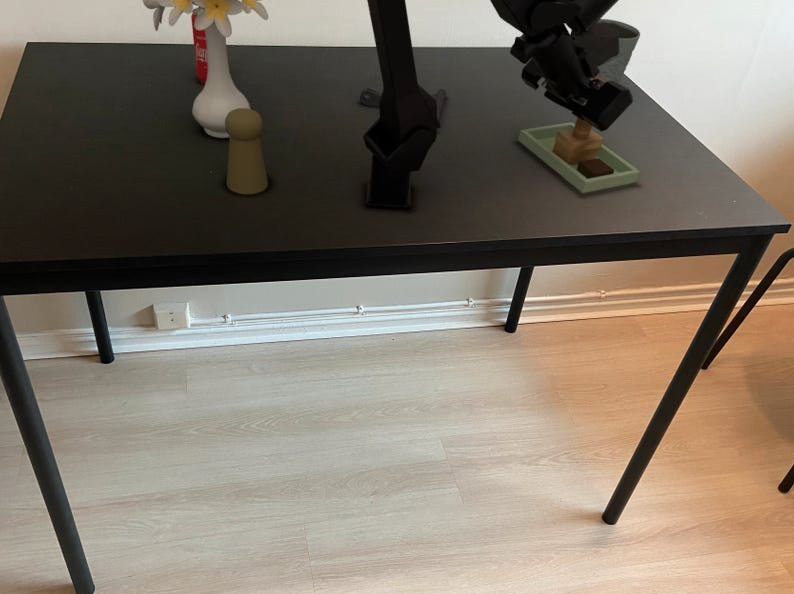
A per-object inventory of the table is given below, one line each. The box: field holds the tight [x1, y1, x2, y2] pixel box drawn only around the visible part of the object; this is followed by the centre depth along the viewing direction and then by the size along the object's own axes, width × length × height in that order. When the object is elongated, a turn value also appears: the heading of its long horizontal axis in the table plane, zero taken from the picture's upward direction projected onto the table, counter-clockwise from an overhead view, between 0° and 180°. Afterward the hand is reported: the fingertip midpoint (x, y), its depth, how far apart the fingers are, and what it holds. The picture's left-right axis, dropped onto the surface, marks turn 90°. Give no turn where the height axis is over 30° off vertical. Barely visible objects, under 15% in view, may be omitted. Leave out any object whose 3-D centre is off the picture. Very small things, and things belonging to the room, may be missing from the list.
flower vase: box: [142, 0, 269, 139], centre depth 108 cm, size 13×18×25 cm
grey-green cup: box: [597, 18, 641, 85], centre depth 134 cm, size 10×10×12 cm
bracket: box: [359, 87, 447, 129], centre depth 126 cm, size 14×15×3 cm
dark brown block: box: [577, 158, 614, 179], centre depth 112 cm, size 4×4×2 cm
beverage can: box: [190, 7, 208, 85], centre depth 127 cm, size 5×5×12 cm
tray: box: [518, 121, 641, 194], centre depth 116 cm, size 18×11×2 cm, turn 24°
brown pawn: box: [225, 108, 269, 195], centre depth 101 cm, size 6×6×11 cm
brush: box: [552, 76, 607, 165], centre depth 112 cm, size 6×4×13 cm
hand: (592, 118), depth 112 cm, fingers closed on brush, 2 cm apart
